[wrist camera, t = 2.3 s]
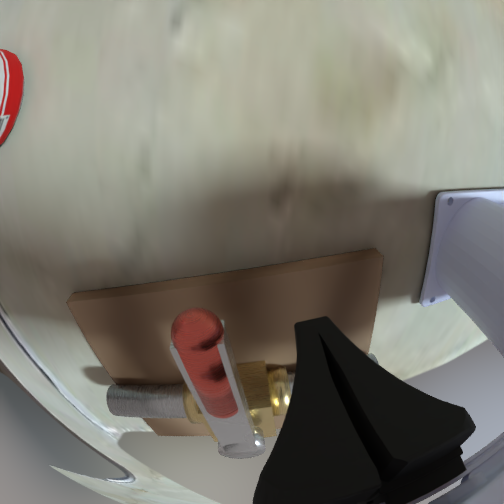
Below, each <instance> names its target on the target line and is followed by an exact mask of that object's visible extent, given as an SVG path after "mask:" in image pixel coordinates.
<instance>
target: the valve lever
mask: <svg viewBox="0 0 504 504" xmlns="http://www.w3.org/2000/svg"><path fill="white" fill-rule="evenodd" d="M170 351H171V353H172V355H173V358H174V360H175V362H176V364H177V366H178V368H179V370H180V372H181V374H182V376H183V378H184V380H185V382H186V384H187V386H188V388H189V390H190V392H191V393H192V395H193V397H194V399H195V401H196V403H197V405H198V406H199V408H200V410H201V412H202V414H203V415H204V417H205V419H206V421H207V422H208V424H209V426H210V427H211V429H212V431H213V432H214V434H215V436H216V437H217V439H218V452H219V453H220V454H221V455H223V456H225V457H229V458H238V459H239V458H240V459H242V458H251V457H255V456H258V455H261V454H262V453H264V452H265V442H264V433H263V430H262V429H261V428H259V427H257V426H254V423H253V420H252V417H251V413H250V410H249V407H248V404H247V400H246V397H245V393H244V390H243V386H242V383H241V380H240V376H239V372H238V369H237V365H236V362H235V358H234V354H233V351H232V347H231V343H230V340H229V336H228V332H227V328H226V324H225V320H220V319H219V318H218V317H217V316H216V315H215V314H214V313H213V312H211V311H209V310H207V309H205V308H198V307H195V308H189V309H186V310H184V311H183V312H181V313H180V314H179V315H178V316H177V317H176V318H175V320H174V321H173V324H172V327H171V344H170Z"/></svg>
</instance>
